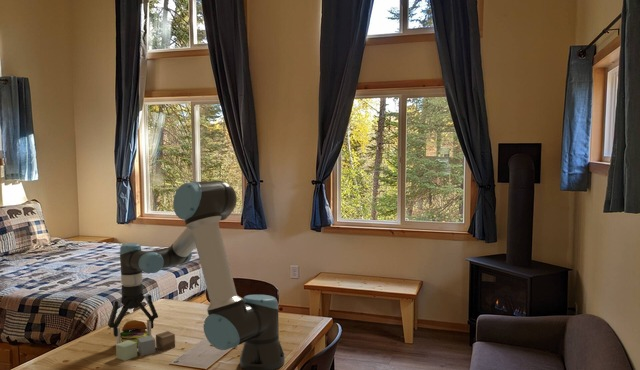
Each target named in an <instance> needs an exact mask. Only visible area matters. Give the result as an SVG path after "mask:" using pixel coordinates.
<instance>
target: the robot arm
mask: <svg viewBox="0 0 640 370" xmlns="http://www.w3.org/2000/svg"><path fill="white" fill-rule="evenodd" d="M237 201H238V199H237V192H236V191H235V188H234V187H233V186H232V185H231V184H229V183H227V182H226V181H223V180H211V181H210V180H209V181H208V180H207V181H206V180H204V181H191V182H186V183H185V182H184V183H183V184H181V185H179V187H178V188H177V189H176V191H175V193H174V197H173V200H172V206H173V211H174V213H175V215H176V217H177V218H178V219H180V220H183V221H184V223H185V226H186V227H185V229H184V230H183V232H182V233H181V234H180V235H179V236H178V237H177V238H176V239H175V241H174V242H173V243H172V244H171V245H170V246H168V247H163V248H157V249H151V250H147V251H146V250H142V247H141V246H142V245H141V244H140V243H137V242H136V243H135V242H134V243H133V242H132V243H131V242H130V243H124V244H122V245H121V246H120V248H119V253H120V254H119V261H120V279H121V280H120V283H121V298H120V299H117V300H116V299H114V300H113V301H112V303H113V304H112V305H113V306H112V310H111V313H110V316H109V318H108V319H109V320H108V322H107V326H108V328H109V329H110V328H111V329H112V330H113V333H112V334H113V336H114V337H115V338H116V344H119V343H121V342H122V341H121V337H120V336H121V335H120V333H121V327H120V326H119V325H120V324H121V322H122V320H123V318H124V317H125V315H126V313H127V312H128V311H129V310H132V309H138V308H139V309H140V310H141V311H142V312H143V313H144V315H145V316H146V317H147V319H146V327H147V329H146V331H147V333H148V336H151V335H152V329H154V326H155V325H154V321H155V319H158V318H159V315H158V313H157V310H156V307H155V305H154V303H153V301H152V300H153V299H152V298H153V297H152V295H151V294H150V293H147V294H145V295H144V290H143V289H144V288H143V287H144V286H143V273H144V274H145V273H146V274H156V273H158V272H159V271H161V270H162V269H166V268H171V267H172V268H173V267H176V266H182V265H184V264H186V263H187V264H188V263H189V262H190V261H191V260H192V255H193V254H192V253H193V251H194V250H195V249H196V251H197V255H198V258H199V263H200V267H201V271H202V275H203V278H204V282H205V286H206V290H207V294H208V298H209V305H208V307H207V309H206V311H207V316H206V318H205V319H204V322H203V333H204V336H205V337H206V339H207V341H208V343H209V344H210V345H211V346H213V347H214V348H215V349H217V350H220V351H227V350H229V349H233V348H236V347H238V346H240V345H241V344H243V347H242V350H241V354H240V356H239V366H240V368H241V369H242V370H277V369H280V368H282V367H283V366H284V365H285V361H286V360H285V353H284V350H283V347H282V344H281V341H280V337H279V336H280V332H279V329H280V328H279V326H280V325H279V323H280V322H279V304H278V300H277V298H276V296H272V295H267V294H248V295H244V296H243V297H241V296H239V295H238V293H237V290H236V289H237V288H236V286H235V281H234V279H233V275H232V271H231V267H230V262H229V259H228V255H227V251H226V248H225V244H224V240H223V237H222V236H223V235H222V233H221V229H220V225H219V223H220V222H221V221H225V220H226V219H228V217H229V216H230V215H231V214H233V212H234V210H235V208H236V206H237ZM144 300H145V301H146V302H147V304H148V307H149V309H150V312H151V314H150V312H149V311H148V310H147V308H146V307H145V305H143V301H144ZM121 304H122V305H123V306H122V307H121V310H120V312H119V314H118V315H117V313H118V310H119V307H120V305H121ZM116 316H117V317H116Z"/></svg>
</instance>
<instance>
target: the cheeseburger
mask: <svg viewBox="0 0 640 370" xmlns="http://www.w3.org/2000/svg"><path fill="white" fill-rule="evenodd" d="M146 336H148V333H147V324H146V323H145V322H144V321H141V320H135V319H133V320H128V321H126V322H125V323H124V324H123V326H122V328H121V331H120V340H121V342H124V341H127V340H130V341H133V342H137V347H138V338H142V337H146Z"/></svg>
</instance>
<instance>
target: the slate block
mask: <svg viewBox="0 0 640 370" xmlns="http://www.w3.org/2000/svg"><path fill="white" fill-rule="evenodd" d="M137 353H139V355H140V356H147V355H151V354H155V353H156V338H154V337H153V335H152V334H151V336H146V337H142V338H138V346H137Z"/></svg>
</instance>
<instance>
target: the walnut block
mask: <svg viewBox="0 0 640 370" xmlns="http://www.w3.org/2000/svg"><path fill="white" fill-rule="evenodd" d="M156 348H157V349H159V350H160V351H162V352H163V351H167V350H171V349H173V348H176V334H175V333H174V332H171V331H168V330H167V331H164V332H161V333H157V334H155V349H156Z"/></svg>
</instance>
